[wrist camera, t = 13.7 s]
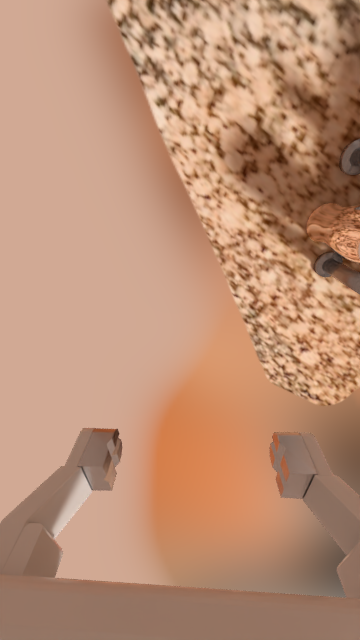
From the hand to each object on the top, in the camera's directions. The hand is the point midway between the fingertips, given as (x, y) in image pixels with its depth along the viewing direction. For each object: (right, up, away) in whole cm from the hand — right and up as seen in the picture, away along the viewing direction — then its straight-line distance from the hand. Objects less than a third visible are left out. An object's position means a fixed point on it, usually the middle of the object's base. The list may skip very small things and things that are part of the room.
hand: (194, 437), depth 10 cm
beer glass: (+24, +22, +29) cm, 43 cm away
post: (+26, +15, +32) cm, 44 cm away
